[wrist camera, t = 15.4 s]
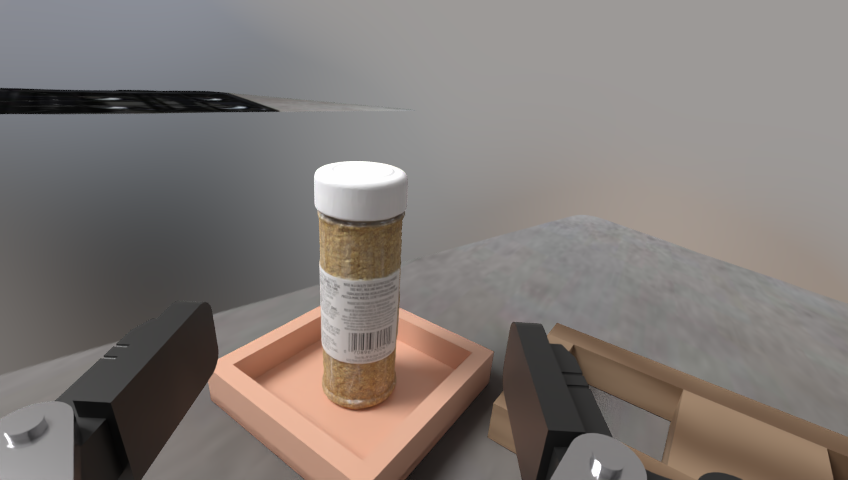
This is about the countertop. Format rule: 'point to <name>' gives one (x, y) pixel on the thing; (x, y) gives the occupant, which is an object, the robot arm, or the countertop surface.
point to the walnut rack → (699, 420)
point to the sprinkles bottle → (359, 278)
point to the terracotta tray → (340, 426)
